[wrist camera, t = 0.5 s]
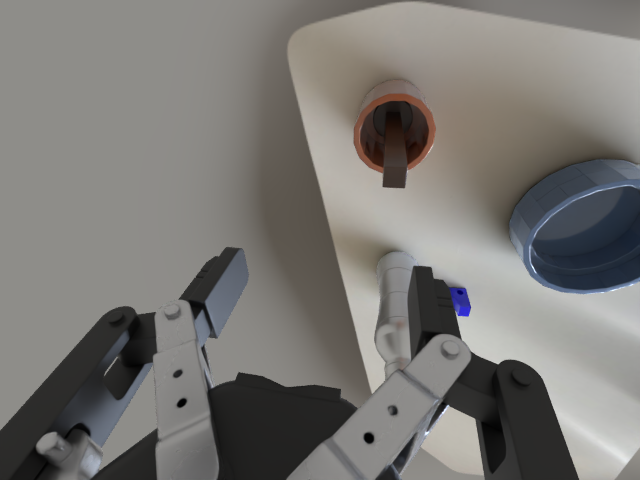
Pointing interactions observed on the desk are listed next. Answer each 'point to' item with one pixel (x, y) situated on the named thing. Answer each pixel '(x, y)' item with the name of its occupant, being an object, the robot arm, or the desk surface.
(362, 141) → the crock
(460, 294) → the cable holder
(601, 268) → the bowl
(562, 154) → the desk surface
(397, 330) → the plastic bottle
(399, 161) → the disc-ended square rod
